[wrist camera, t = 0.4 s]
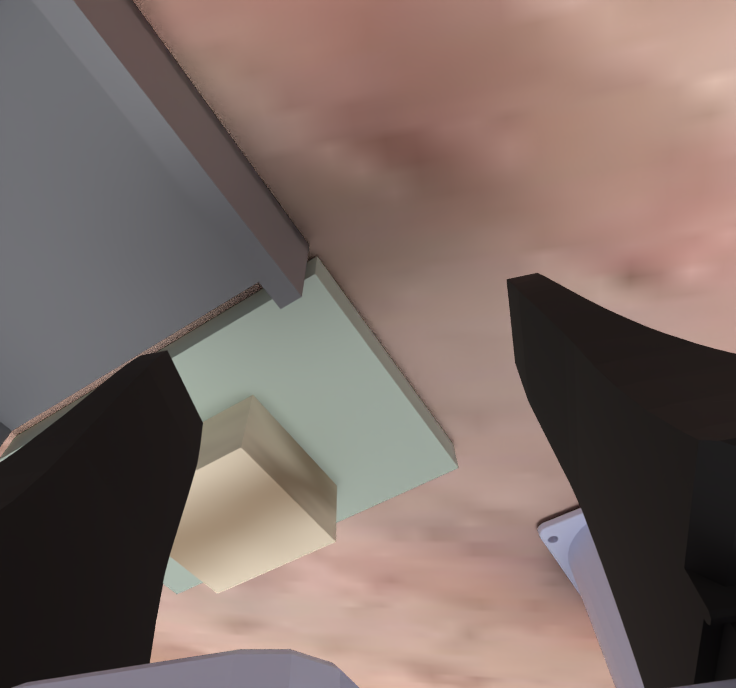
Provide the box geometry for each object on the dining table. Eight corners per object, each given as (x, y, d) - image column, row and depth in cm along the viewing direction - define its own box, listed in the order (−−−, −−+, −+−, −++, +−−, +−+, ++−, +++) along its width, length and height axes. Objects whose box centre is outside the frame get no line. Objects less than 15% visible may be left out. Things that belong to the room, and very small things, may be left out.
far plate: (453, 444, 26) (458, 467, 25) (184, 568, 30) (177, 594, 29) (317, 256, 21) (315, 273, 20) (15, 436, 25) (-3, 460, 24)
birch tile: (336, 485, 25) (336, 541, 23) (229, 535, 27) (217, 593, 24) (253, 394, 23) (241, 447, 20) (138, 456, 24) (114, 512, 22)
